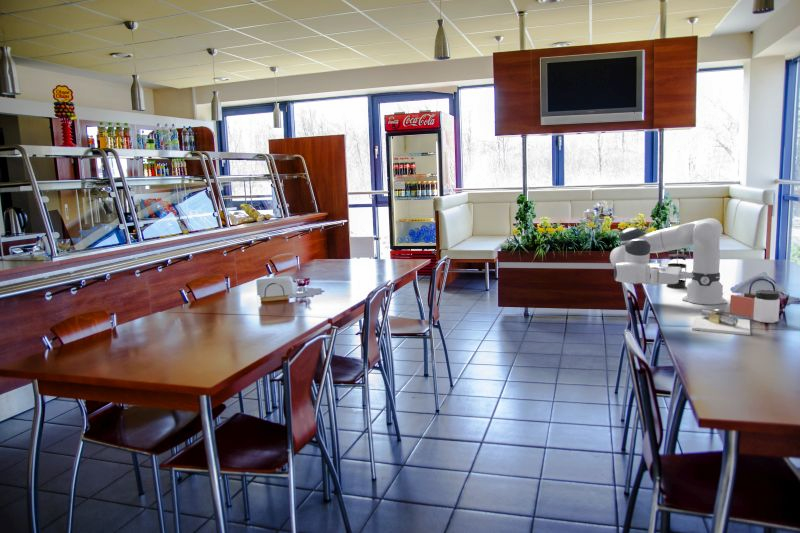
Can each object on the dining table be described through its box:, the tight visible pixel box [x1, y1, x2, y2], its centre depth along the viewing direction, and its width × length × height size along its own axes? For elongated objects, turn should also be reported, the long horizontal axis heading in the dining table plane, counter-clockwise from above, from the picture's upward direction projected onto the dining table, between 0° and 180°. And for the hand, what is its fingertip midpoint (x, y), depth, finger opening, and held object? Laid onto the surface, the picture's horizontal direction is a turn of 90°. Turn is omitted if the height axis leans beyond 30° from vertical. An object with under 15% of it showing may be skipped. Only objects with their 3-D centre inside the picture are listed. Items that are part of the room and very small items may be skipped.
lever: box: [713, 294, 755, 321], centre depth 247 cm, size 16×4×8 cm, turn 27°
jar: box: [752, 289, 781, 324], centre depth 257 cm, size 9×8×12 cm
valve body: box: [700, 309, 739, 326], centre depth 254 cm, size 16×5×4 cm, turn 17°
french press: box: [666, 249, 688, 289], centre depth 332 cm, size 12×9×23 cm
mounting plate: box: [691, 315, 751, 336], centre depth 251 cm, size 22×20×1 cm
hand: (692, 275), depth 248 cm, fingers closed
